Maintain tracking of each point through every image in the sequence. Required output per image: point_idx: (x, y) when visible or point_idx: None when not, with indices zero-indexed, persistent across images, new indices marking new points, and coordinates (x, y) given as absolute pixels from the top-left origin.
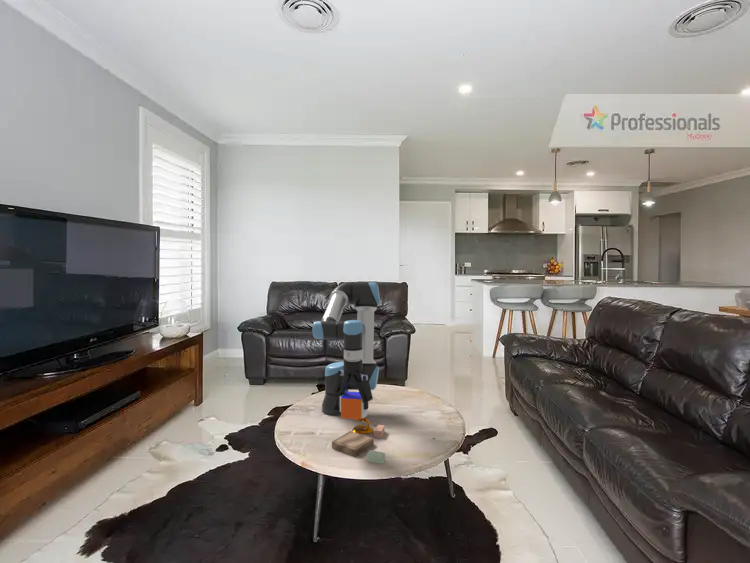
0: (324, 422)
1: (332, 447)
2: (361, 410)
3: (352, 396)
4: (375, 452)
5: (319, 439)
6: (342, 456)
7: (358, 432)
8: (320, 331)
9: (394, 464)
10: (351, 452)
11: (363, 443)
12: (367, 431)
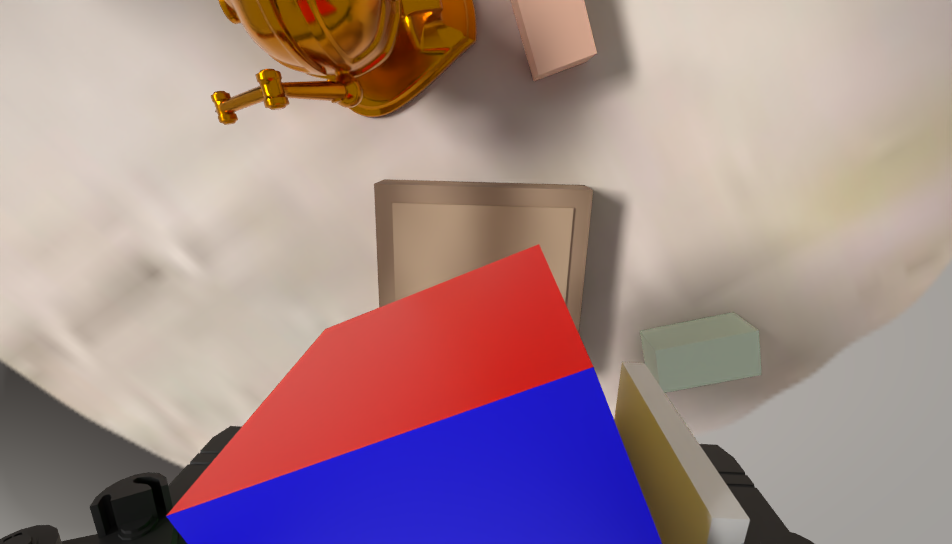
0: (62, 88)
1: None
2: (642, 492)
3: None
4: (703, 358)
5: (254, 315)
6: None
7: (399, 103)
8: None
9: (805, 325)
10: None
11: (569, 293)
12: (451, 53)
